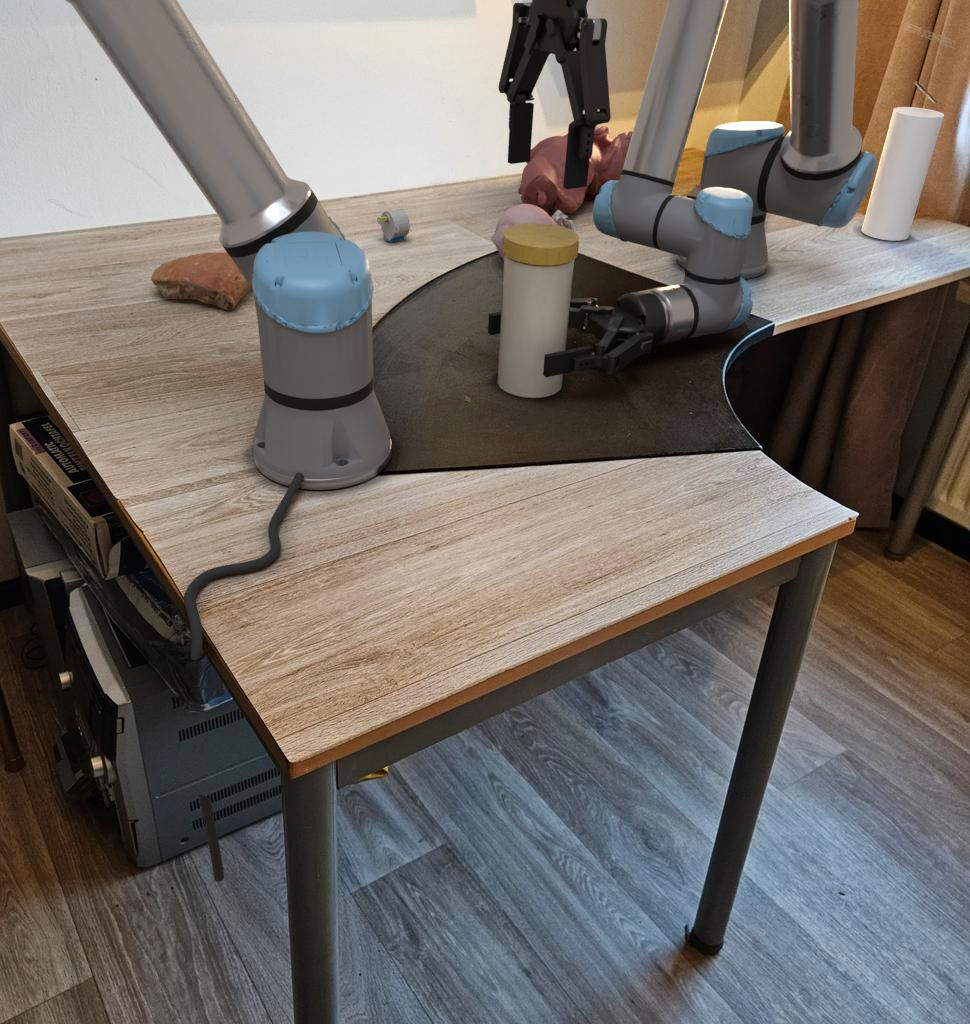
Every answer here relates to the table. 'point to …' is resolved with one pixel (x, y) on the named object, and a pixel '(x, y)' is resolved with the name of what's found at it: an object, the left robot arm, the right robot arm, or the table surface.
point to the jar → (532, 325)
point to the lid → (540, 244)
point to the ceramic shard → (202, 279)
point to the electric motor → (394, 225)
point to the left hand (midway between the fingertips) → (545, 174)
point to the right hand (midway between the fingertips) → (516, 344)
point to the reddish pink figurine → (549, 167)
